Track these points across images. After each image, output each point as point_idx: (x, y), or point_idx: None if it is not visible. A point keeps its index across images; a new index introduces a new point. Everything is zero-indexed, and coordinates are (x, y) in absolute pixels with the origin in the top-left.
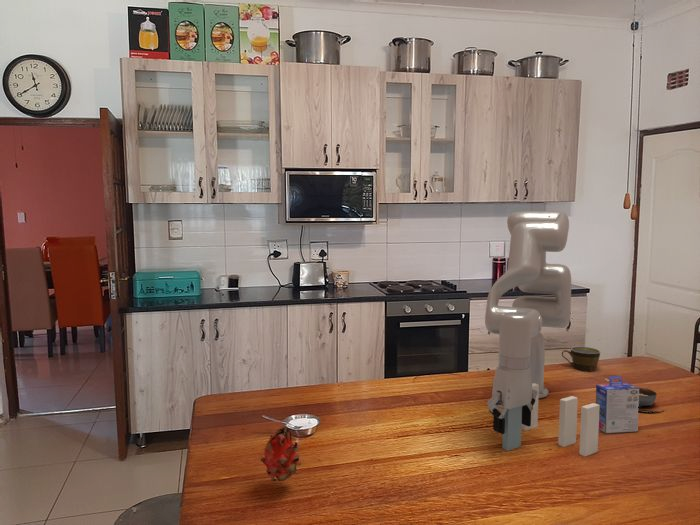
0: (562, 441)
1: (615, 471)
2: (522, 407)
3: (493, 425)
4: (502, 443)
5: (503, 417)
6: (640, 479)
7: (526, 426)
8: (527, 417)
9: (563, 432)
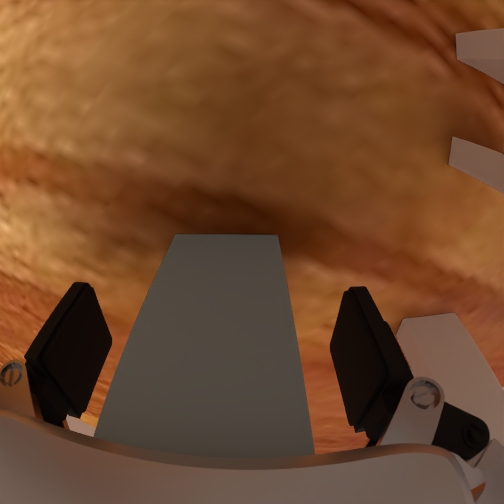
0: (404, 344)
1: (338, 426)
2: (383, 406)
3: (62, 300)
4: (169, 247)
5: (119, 367)
6: (338, 442)
7: (465, 171)
8: (343, 386)
9: (415, 374)
